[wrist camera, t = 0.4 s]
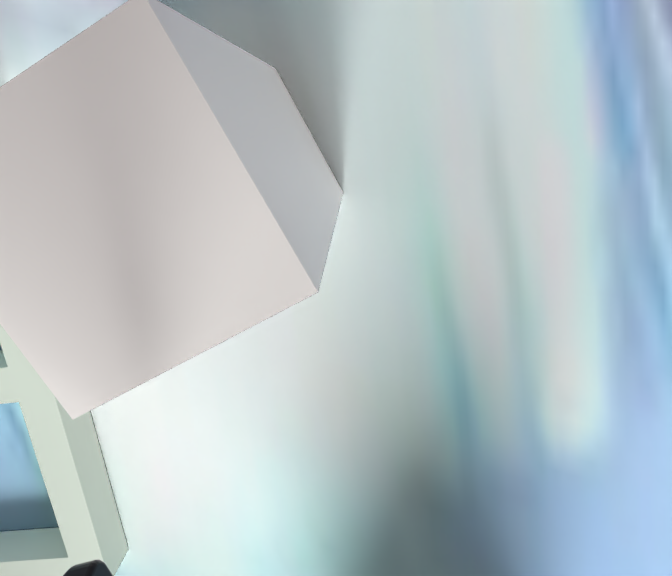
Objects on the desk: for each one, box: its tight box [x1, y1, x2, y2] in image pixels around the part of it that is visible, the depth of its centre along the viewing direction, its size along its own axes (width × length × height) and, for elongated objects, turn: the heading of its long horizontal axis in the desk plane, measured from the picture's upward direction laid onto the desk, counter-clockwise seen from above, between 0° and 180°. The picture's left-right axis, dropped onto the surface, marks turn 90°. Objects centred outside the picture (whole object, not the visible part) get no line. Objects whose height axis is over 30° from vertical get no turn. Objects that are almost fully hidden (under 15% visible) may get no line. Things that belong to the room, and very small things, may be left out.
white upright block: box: [0, 0, 343, 420], centre depth 15 cm, size 5×5×12 cm
